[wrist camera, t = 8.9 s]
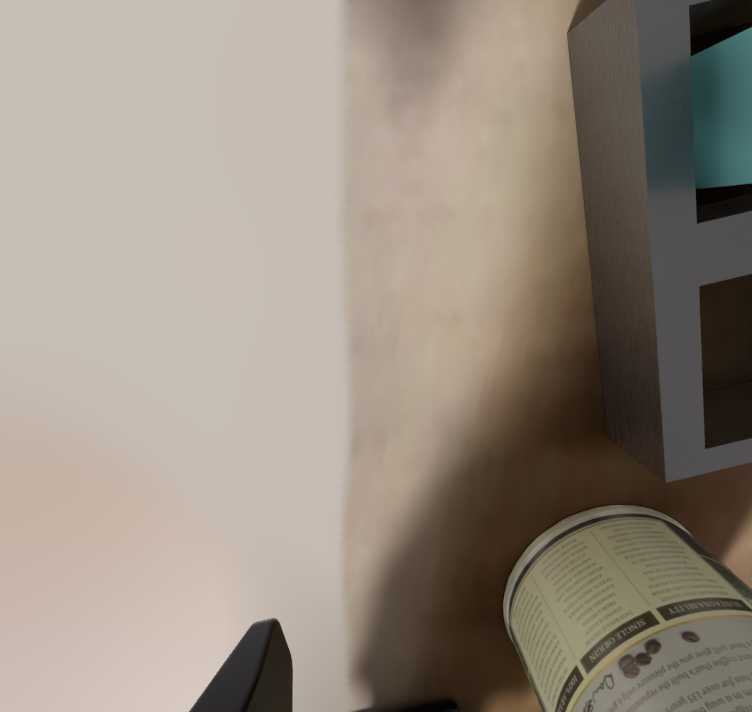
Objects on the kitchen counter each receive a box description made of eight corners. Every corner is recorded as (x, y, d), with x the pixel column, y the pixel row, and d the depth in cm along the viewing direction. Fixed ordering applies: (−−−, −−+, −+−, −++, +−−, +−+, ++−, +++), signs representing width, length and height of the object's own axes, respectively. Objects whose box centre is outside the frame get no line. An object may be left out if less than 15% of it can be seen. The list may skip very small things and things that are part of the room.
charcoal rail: (803, 389, 21) (914, 428, 17) (607, 436, 21) (671, 487, 17) (814, -26, 17) (968, -108, 13) (567, 33, 17) (640, -30, 13)
